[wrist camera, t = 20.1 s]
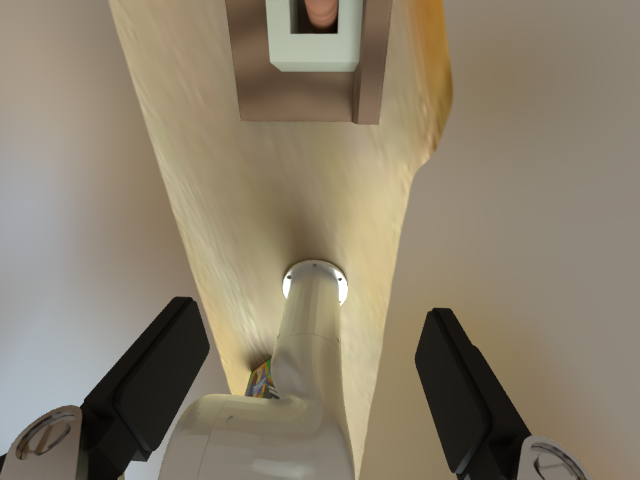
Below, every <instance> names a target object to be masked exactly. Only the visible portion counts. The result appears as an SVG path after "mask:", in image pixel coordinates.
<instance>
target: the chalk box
mask: <svg viewBox="0 0 640 480" xmlns="http://www.w3.org/2000/svg"><path fill="white" fill-rule="evenodd" d="M271 359H272V357H271V358H270V359H269V360H267V361H266V362H265V363H263V364H262V365H261V366H259V367H258V368H257V369H256V370H254V371H253V372H252V373H251V375H250V379H249V382H248V385H247V389H246V392H245V396H247V397H256V398H265V399H280V397H279V395H278V393H277V391H276V389H275V386H274V384H273V380H272V376H271Z"/></svg>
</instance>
